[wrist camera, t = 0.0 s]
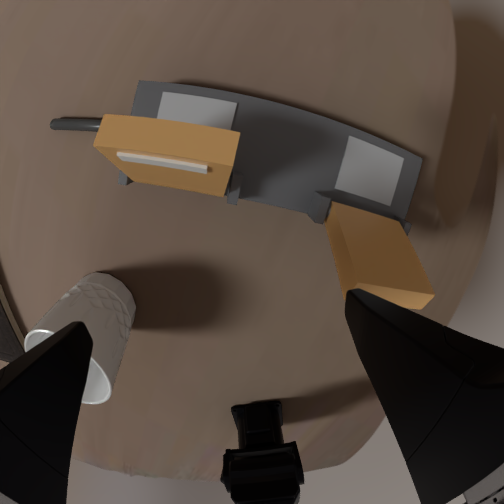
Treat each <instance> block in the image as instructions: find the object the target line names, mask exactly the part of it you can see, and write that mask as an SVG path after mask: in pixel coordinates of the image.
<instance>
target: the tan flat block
mask: <svg viewBox="0 0 504 504" xmlns="http://www.w3.org/2000/svg"><path fill="white" fill-rule="evenodd" d="M239 137H240V132H236V131H231V130H226V129H221V128H216V127H210V126H204V125H199V124H192V123H186V122H179V121H172V120H165V119H156V118H147V117H137V116H126V115H111V114H104V116H103V119H102V121H101V124H100V127H99V130H98V133H97V135H96V138H95V141H94V144H93V146H94V147H95V148H96V149H97V150H99V151H100V152H101V153H102V154H103V155H104V156H105V157H106V158H107V159H109V160H110V161H111V162H112V163H113V164H114V165H115V166H117V167H118V168H119V169H120V170H121V171H122V172H123V173H124V174H126V175H127V176H128V177H129V178H130V179H131V180H132V181H134V182H141V183H147V184H153V185H159V186H165V187H171V188H177V189H182V190H188V191H193V192H199V193H204V194H209V195H214V196H219V197H223V196H224V195H226V196H227V193H228V188H229V184H230V179H231V177H230V174H231V171H232V168H233V164H234V159H235V155H236V150H237V146H238V141H239Z"/></svg>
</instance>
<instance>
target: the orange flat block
mask: <svg viewBox="0 0 504 504" xmlns="http://www.w3.org/2000/svg"><path fill="white" fill-rule="evenodd" d="M324 223H325V227H326V230H327V234H328V237H329V241H330V245H331V249H332V252H333V256H334V260H335V264H336V268H337V272H338V276H339V280H340V285H341V289H342V293H343V298H344V300H346V293H347V291H348V290H350V289H355V288H360V289H363V290H365V291H367V292H369V293H372V294H374V295H376V296H379V297H381V298H383V299H385V300H388V301H390V302H392V303H395V304H397V305H399V306H401V307H404V308H411V309H420V310H421V309H422V308H423V307H424V306H425V305H426V304H427V303H428V302H429V301H430V300H431V299H432V298H433V297H434V296H435V293H434V291H433V289H432V286H431V284H430V282H429V280H428V277H427V275H426V273H425V271H424V269H423V267H422V265H421V263H420V260H419V258H418V256H417V254H416V252H415V250H414V248H413V246H412V245H411V243H410V241H409V239H408V237H407V235H406V233H405V231H404V230H403V228H402V226H401V224H400V222H399V221H396V220H393V219H390V218H387V217H384V216H380V215H377V214H374V213H371V212H368V211H364V210H361V209H358V208H354V207H351V206H348V205H344V204H341V203H337V202H333V201H330V203H329V207H328V210H327V213H326V216H325V220H324Z"/></svg>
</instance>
